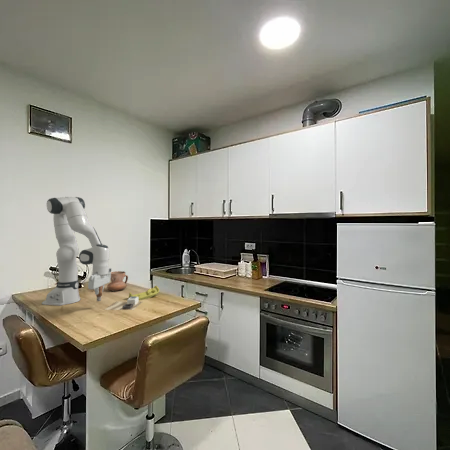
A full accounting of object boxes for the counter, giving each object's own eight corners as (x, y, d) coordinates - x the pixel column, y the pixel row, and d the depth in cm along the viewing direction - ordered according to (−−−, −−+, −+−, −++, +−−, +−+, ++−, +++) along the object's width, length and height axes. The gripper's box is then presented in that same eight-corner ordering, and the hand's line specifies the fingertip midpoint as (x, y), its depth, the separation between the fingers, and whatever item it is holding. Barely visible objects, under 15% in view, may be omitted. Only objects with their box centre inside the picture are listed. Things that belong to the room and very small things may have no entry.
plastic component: (134, 299, 165) (129, 290, 172) (133, 308, 168) (128, 299, 174) (161, 292, 178) (155, 284, 185) (160, 300, 181) (154, 292, 187)
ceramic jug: (110, 293, 189) (111, 275, 189) (102, 290, 198) (102, 272, 198) (132, 289, 202) (132, 272, 203) (123, 286, 212) (123, 269, 212)
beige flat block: (104, 311, 149) (103, 307, 149) (116, 303, 165) (116, 299, 165) (133, 311, 149) (133, 307, 149) (142, 303, 165) (142, 299, 165)
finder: (135, 304, 158) (135, 298, 158) (127, 304, 158) (127, 298, 158) (138, 302, 164) (138, 296, 164) (131, 302, 164) (131, 296, 164)
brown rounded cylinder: (95, 301, 150) (96, 285, 151) (96, 300, 154) (97, 284, 154) (101, 301, 151) (102, 285, 152) (102, 299, 154) (103, 283, 155)
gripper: (96, 274, 142) (95, 298, 142) (113, 268, 163) (111, 289, 163) (85, 273, 142) (84, 297, 142) (103, 267, 163) (102, 288, 163)
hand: (99, 293), depth 153 cm, fingers closed on brown rounded cylinder, 3 cm apart
